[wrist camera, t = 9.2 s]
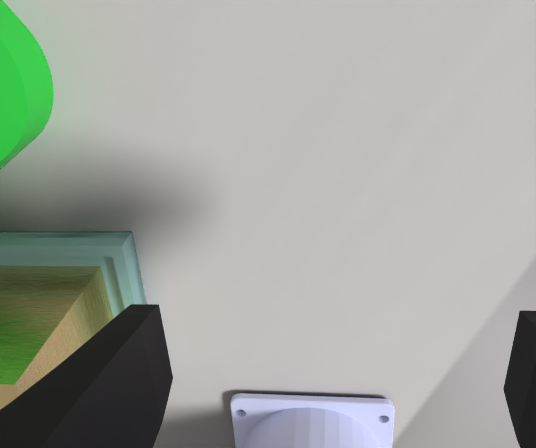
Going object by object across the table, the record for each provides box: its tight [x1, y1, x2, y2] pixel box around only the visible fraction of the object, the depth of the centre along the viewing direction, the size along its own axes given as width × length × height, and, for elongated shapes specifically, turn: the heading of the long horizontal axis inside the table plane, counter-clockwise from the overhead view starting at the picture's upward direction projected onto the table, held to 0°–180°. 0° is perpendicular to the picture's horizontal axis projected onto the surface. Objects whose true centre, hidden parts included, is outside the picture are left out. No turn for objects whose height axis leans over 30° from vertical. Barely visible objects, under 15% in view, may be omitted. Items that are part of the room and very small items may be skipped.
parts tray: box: [0, 232, 146, 318], centre depth 24 cm, size 8×8×1 cm
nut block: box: [0, 265, 114, 410], centre depth 21 cm, size 5×5×7 cm
